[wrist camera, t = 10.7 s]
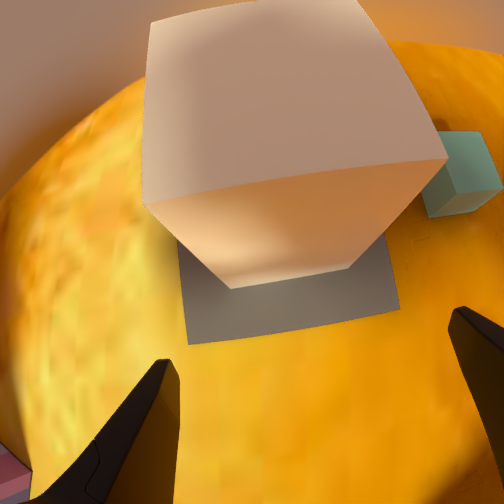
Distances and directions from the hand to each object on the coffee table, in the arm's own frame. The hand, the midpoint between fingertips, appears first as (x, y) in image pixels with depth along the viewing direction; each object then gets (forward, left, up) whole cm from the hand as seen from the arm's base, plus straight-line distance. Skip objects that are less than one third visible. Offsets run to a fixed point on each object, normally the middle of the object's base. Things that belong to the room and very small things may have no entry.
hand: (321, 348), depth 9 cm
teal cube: (+13, -4, -8) cm, 16 cm away
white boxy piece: (+5, +5, -8) cm, 11 cm away
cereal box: (-30, +11, -9) cm, 33 cm away
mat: (+5, +4, -8) cm, 11 cm away
